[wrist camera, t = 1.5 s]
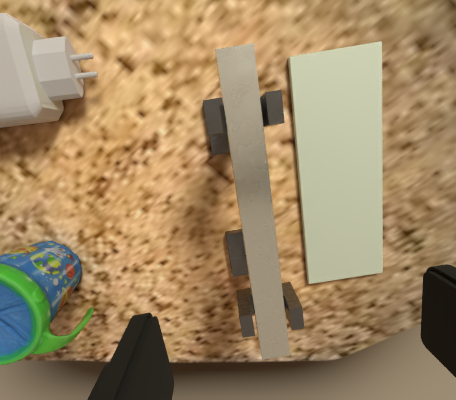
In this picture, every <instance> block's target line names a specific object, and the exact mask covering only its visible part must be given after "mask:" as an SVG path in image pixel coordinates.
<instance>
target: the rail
mask: <svg viewBox="0 0 456 400" xmlns="http://www.w3.org/2000/svg"><path fill="white" fill-rule="evenodd" d="M215 51H216V63H217V69H218V76H219V83H220V89H221V96H222V102H223V109H224V116H225V122H226V129H227V135H228V142H229V148H230V155H231V162H232V168H233V175H234V181H235V188H236V195H237V201H238V208H239V214H240V221H241V227H242V234H243V241H244V247H245V254H246V260H247V267H248V274H249V280H250V287H251V293H252V300H253V307H254V313H255V320H256V326H257V333H258V339H259V345H260V350H261V356H262V360H263V359H269V358H276V357H282V356H289V355H290V351H289V343H288V334H287V325H286V317H285V308H284V300H283V291H282V282H281V274H280V265H279V257H278V248H277V239H276V231H275V222H274V214H273V205H272V196H271V188H270V179H269V171H268V162H267V154H266V145H265V136H264V128H263V119H262V111H261V102H260V93H259V85H258V76H257V68H256V59H255V50H254V43H252V44H246V45H240V46H233V47H227V48H221V49H215Z"/></svg>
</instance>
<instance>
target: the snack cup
mask: <svg viewBox="0 0 456 400" xmlns="http://www.w3.org/2000/svg"><path fill="white" fill-rule="evenodd" d="M80 277H81V265H80V262H79V257H78V256H77V255H76V254H74V253H73V252H72V251H71V250H70V249H69V248H67V247H65V246H63V245H61V244H57V243H56V242H53V241H48V242H39V243H35V244H32V245H29V246H26V247H24V248H21V249H18V250H15V251H12V252H9V253H6V254H4V255H2V256H0V365H4V364H10V363H13V362H16V361H19V360H21V359H22V358H24V357H26V356H28V355H30V354H43V353H48V352H52V351H55V350H58V349H60V348H62V347H64V346H65V345H67V344H69V343H70V342H71V341H72V340H73V339H74V338H76V336H77V335H78V334H79V333H80V331H81V330H82V329H83V328H84V326H85V325H86V324H87V322H88V321H89V319H90V317H91V315H92V314H93V311H94V308H90V309H89V310H88V311H87V313H86V314H85V316H84V318H83V319H82V321H81V322H80V323H79V324H78V326H77V327H76V328H75V329H74V330H73V331H72V332H71V334H70V335H64V336H55V335H52V334H51V332H50V330H49V326H50V323H51V321H52V320H53V319H54V318H55V316H56V315H57V313H58V312H59V311H60V309H61V308H62V306H63V305H64V304H65V302H66V301H67V299H68V298H69V296H70V295H71V293H72V292H73V290H74V289H75V287H76V286H77V285H78V283H79V281H80Z"/></svg>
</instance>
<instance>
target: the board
mask: <svg viewBox="0 0 456 400" xmlns="http://www.w3.org/2000/svg"><path fill="white" fill-rule="evenodd" d="M288 67H289V79H290V90H291V101H292V113H293V124H294V136H295V147H296V159H297V170H298V181H299V193H300V204H301V216H302V227H303V239H304V250H305V261H306V273H307V281H308V283H309V284H312V283H318V282H325V281H331V280H338V279H344V278H351V277H357V276H364V275H370V274H376V273H383V237H382V42H376V43H370V44H364V45H358V46H351V47H345V48H339V49H333V50H327V51H321V52H315V53H309V54H303V55H297V56H291V57H289V58H288Z"/></svg>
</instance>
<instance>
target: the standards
mask: <svg viewBox="0 0 456 400" xmlns="http://www.w3.org/2000/svg"><path fill="white" fill-rule="evenodd" d="M260 102H261V111H262V119H263V127H268V126H274V125H278V124H282V123H284V113H283V102H282V92H281V90H277V91H271V92H265V94H264V95H263V96H262V97H261V98H260ZM203 107H204V112H205V118H206V124H207V130H208V135H209V138H210V144H211V150H212V155H216V154H222V153H228V152H230V148H229V142H228V135H227V129H226V122H225V116H224V109H223V102H222V98H216V99H210V100H204V101H203ZM226 238H227V244H228V250H229V256H230V262H231V268H232V274H233V276H240V275H246V274H248V267H247V260H246V254H245V247H244V241H243V234H242V229H239V230H233V231H226ZM282 291H283V300H284V308H285V313H286V316H287V318H288V321H289V324H290V326H291V329H292V330H296V329H302V328H304V321H303V311H302V306H301V304H300V302H299V299H298V297H297V295H296V293H295V291H294V289H293V287H292V285H291V283H290V282H286V283H282ZM237 300H238V309H239V318H240V324H241V330H242V336H243V337H250V336H255V332H254V326H253V319H252V314H255V313H254V307H253V300H252V293H251V288H248V289H241V290H237Z"/></svg>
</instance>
